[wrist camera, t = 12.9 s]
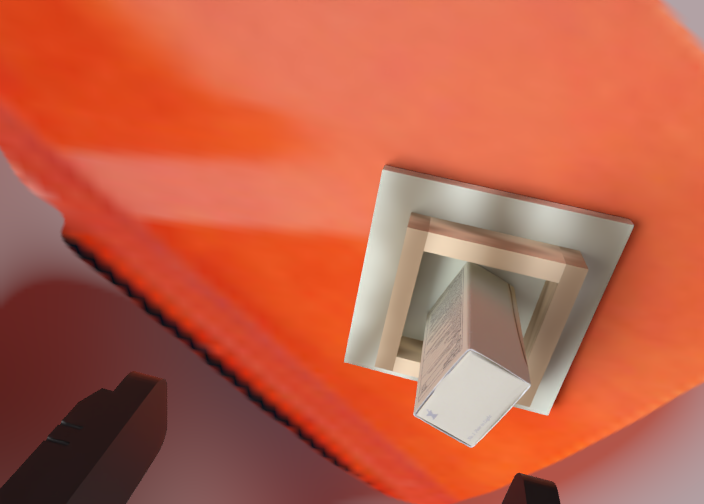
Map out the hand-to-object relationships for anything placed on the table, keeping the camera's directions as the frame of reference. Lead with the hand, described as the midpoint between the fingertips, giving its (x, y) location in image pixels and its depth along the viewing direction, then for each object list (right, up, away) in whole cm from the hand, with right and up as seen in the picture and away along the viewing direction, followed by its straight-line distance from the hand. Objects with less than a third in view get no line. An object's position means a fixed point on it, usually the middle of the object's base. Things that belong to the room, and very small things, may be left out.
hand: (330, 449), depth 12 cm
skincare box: (+10, +1, +30) cm, 31 cm away
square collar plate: (+10, +1, +30) cm, 32 cm away
